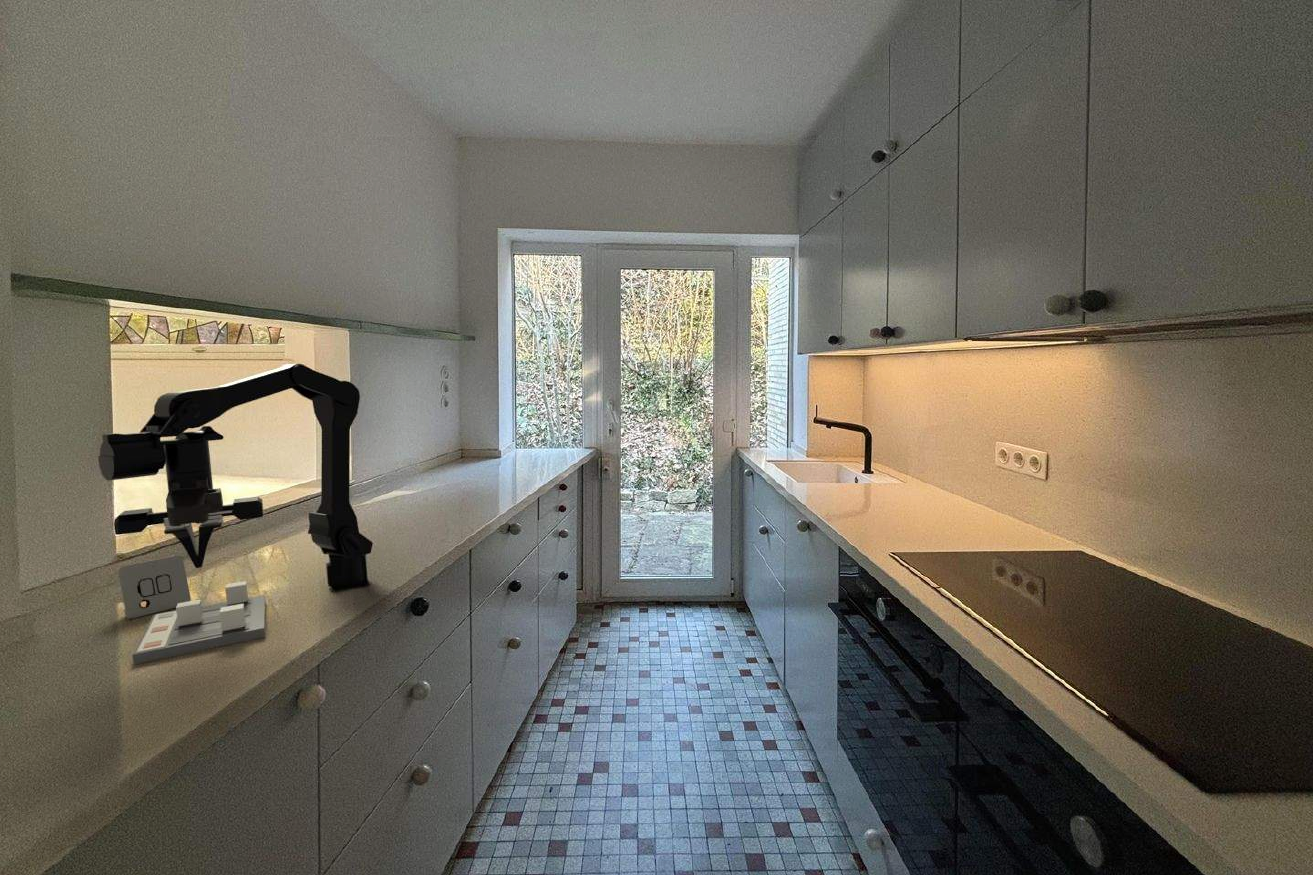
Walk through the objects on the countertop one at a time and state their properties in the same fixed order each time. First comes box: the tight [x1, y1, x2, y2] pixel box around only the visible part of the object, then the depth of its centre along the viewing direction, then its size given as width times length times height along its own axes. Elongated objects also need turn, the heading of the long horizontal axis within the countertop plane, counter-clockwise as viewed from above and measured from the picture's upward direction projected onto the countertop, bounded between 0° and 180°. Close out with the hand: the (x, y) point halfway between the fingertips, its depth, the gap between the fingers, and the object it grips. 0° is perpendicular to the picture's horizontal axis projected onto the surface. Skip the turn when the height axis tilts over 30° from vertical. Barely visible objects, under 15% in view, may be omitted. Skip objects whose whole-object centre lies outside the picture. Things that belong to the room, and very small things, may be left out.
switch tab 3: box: [220, 604, 245, 631], centre depth 98 cm, size 3×2×3 cm
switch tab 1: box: [175, 599, 203, 626], centre depth 101 cm, size 3×2×3 cm
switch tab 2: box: [224, 580, 249, 605], centre depth 110 cm, size 3×2×3 cm
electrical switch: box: [116, 554, 192, 620], centre depth 113 cm, size 9×5×9 cm, turn 141°
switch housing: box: [132, 594, 267, 665], centre depth 102 cm, size 16×19×2 cm
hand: (199, 567), depth 101 cm, fingers closed
